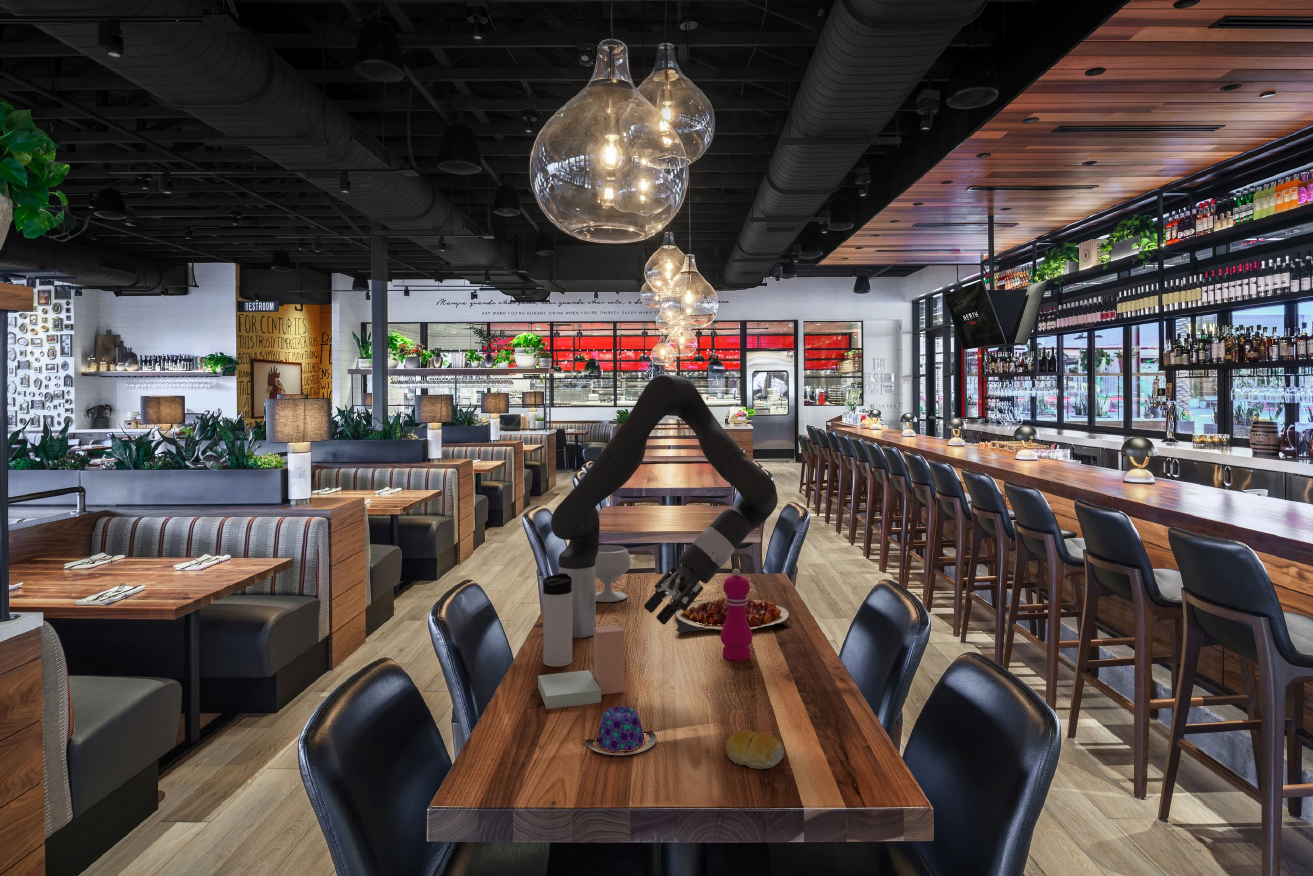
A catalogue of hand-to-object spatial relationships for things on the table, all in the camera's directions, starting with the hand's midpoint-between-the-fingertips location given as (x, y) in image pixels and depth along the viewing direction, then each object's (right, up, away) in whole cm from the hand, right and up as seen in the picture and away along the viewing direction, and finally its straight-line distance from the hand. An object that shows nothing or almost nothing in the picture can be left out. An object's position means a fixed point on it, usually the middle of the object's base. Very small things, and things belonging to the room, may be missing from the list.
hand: (653, 615), depth 143 cm
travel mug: (-21, -15, +14) cm, 29 cm away
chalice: (-14, -13, +74) cm, 77 cm away
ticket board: (-9, -15, -2) cm, 18 cm away
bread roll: (+16, -16, -27) cm, 36 cm away
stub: (-9, -14, -2) cm, 16 cm away
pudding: (-5, -16, -21) cm, 28 cm away
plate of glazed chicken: (+21, -14, +50) cm, 56 cm away
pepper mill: (+19, -15, +21) cm, 32 cm away
